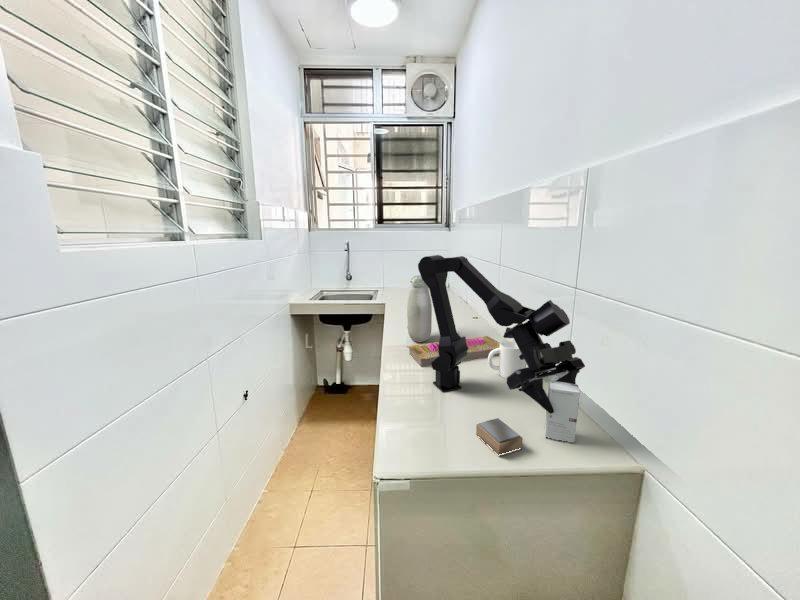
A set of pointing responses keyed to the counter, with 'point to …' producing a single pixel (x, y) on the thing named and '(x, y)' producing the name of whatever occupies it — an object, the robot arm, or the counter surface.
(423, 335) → the glass bottle
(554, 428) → the skincare box
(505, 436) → the block
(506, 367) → the mug
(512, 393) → the counter surface
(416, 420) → the counter surface
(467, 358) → the rafter model
